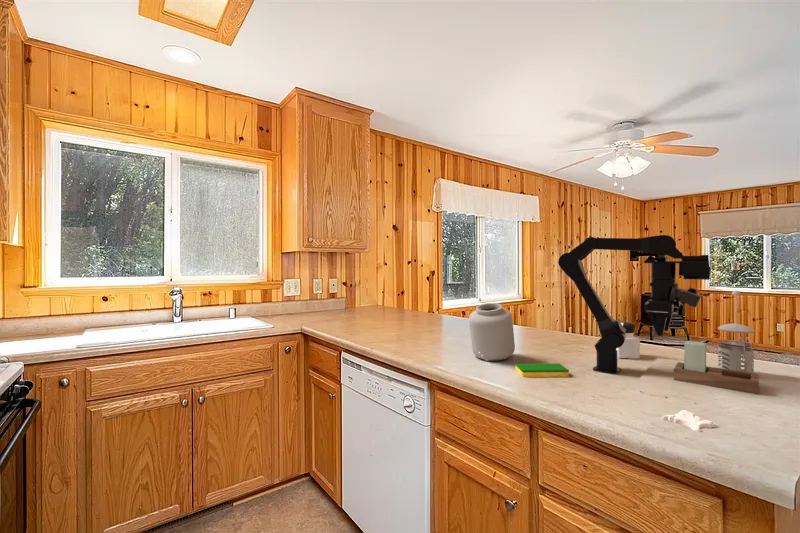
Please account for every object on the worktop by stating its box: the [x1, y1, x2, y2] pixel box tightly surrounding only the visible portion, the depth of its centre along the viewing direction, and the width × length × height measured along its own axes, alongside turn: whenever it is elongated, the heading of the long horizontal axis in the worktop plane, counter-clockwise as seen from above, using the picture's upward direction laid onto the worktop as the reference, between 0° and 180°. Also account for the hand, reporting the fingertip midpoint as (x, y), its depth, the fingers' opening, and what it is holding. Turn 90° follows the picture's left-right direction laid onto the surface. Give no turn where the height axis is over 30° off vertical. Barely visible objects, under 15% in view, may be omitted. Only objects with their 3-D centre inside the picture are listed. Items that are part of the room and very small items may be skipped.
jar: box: [468, 287, 516, 365], centre depth 131 cm, size 19×15×25 cm
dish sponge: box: [514, 363, 570, 378], centre depth 114 cm, size 7×14×2 cm, turn 89°
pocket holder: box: [673, 361, 760, 396], centre depth 101 cm, size 9×17×4 cm, turn 47°
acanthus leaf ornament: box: [661, 409, 720, 433], centre depth 79 cm, size 8×7×2 cm
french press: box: [717, 290, 755, 373], centre depth 108 cm, size 10×12×25 cm
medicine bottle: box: [616, 321, 641, 360], centre depth 132 cm, size 7×7×12 cm
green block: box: [683, 340, 707, 373], centre depth 103 cm, size 4×4×10 cm
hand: (663, 333), depth 107 cm, fingers open, 9 cm apart
